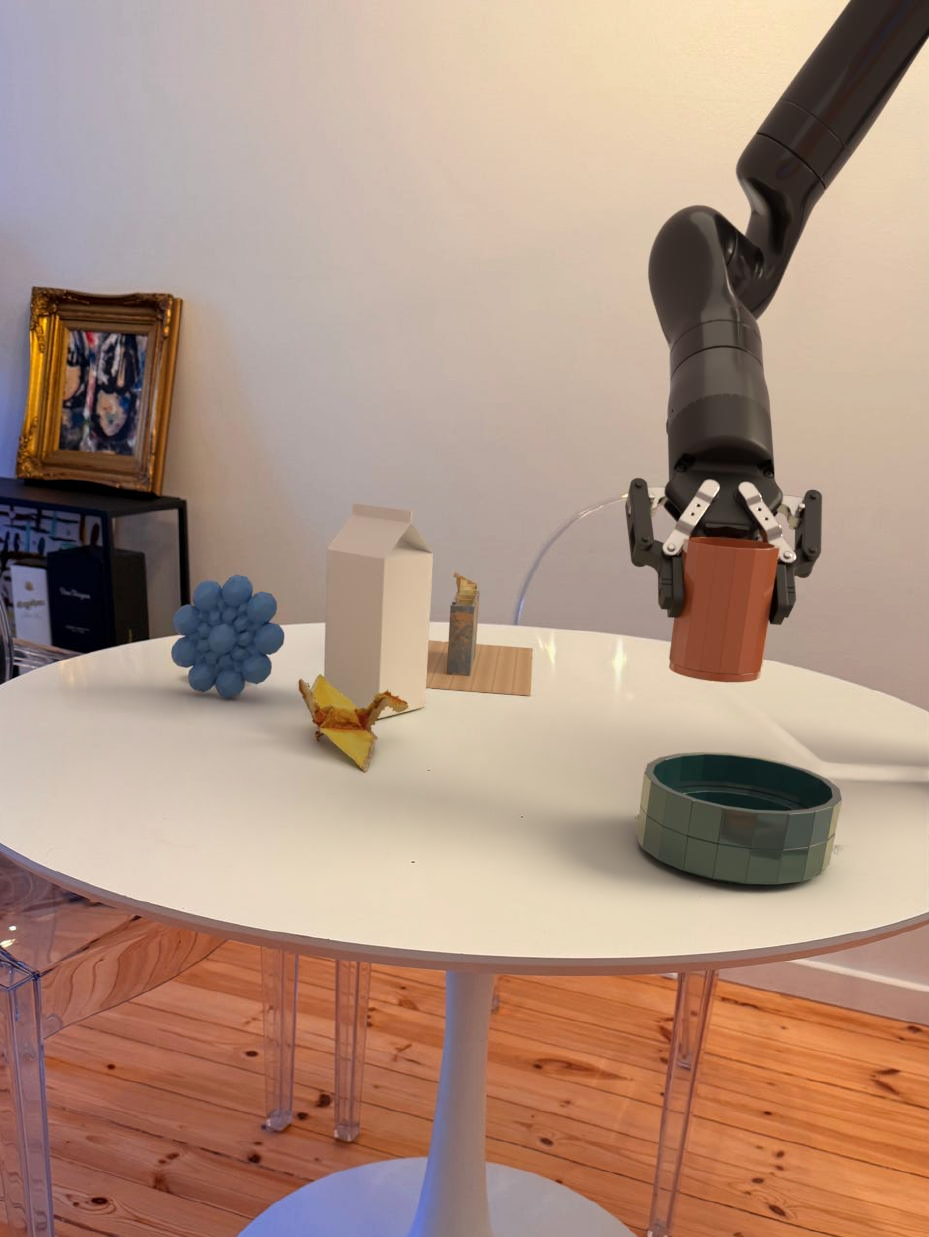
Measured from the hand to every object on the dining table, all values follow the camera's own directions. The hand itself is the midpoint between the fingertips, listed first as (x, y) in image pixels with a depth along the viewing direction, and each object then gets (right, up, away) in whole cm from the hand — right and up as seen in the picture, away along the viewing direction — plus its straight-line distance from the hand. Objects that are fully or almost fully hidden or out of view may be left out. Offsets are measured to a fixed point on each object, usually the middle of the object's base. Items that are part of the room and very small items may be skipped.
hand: (727, 614), depth 78 cm
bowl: (+1, -17, +2) cm, 17 cm away
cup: (0, -4, +3) cm, 5 cm away
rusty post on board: (-18, +4, +54) cm, 57 cm away
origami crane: (-29, -7, +22) cm, 37 cm away
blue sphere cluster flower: (-41, -2, +34) cm, 53 cm away
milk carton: (-27, -3, +34) cm, 43 cm away
